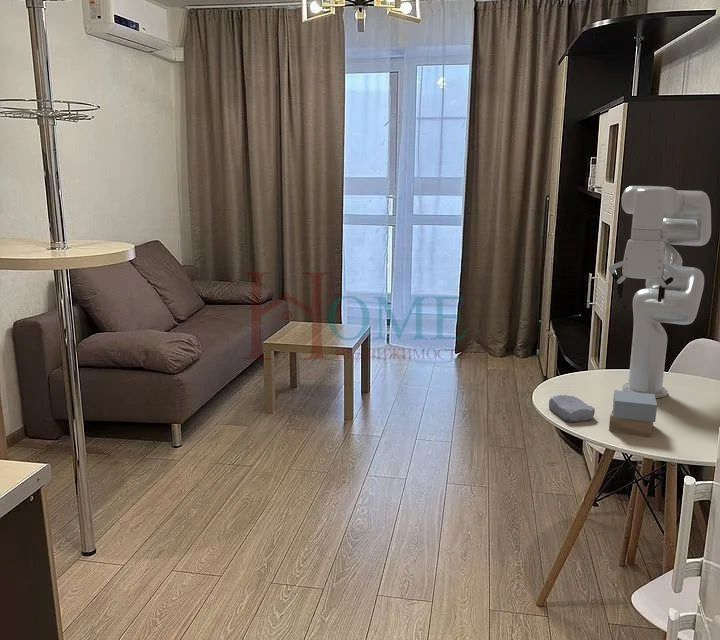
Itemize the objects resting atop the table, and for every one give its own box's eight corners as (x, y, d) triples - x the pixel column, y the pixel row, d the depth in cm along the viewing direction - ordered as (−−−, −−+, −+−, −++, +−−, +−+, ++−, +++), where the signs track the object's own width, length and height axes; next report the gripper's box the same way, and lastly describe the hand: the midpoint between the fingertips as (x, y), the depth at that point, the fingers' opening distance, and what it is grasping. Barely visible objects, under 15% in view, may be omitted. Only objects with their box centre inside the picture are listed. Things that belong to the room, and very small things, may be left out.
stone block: (575, 411, 201) (544, 407, 199) (579, 395, 200) (548, 391, 198) (597, 427, 190) (565, 424, 187) (602, 411, 189) (569, 407, 186)
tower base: (613, 420, 191) (614, 405, 190) (652, 427, 186) (654, 411, 185) (608, 431, 183) (610, 415, 182) (649, 438, 178) (651, 422, 177)
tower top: (612, 405, 189) (614, 390, 188) (652, 410, 186) (654, 394, 185) (613, 417, 181) (615, 400, 180) (655, 422, 178) (657, 405, 177)
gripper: (683, 236, 184) (676, 300, 188) (613, 232, 192) (608, 294, 196) (681, 238, 177) (674, 305, 181) (609, 235, 185) (604, 298, 189)
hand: (640, 299), depth 188 cm, fingers open, 9 cm apart
